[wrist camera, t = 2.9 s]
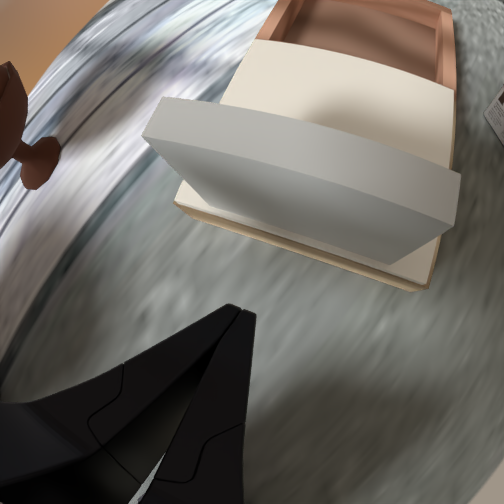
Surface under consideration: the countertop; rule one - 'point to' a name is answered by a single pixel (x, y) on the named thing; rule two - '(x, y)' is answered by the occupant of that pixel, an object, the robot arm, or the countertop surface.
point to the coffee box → (497, 114)
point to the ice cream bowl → (11, 130)
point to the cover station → (370, 48)
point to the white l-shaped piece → (320, 155)
